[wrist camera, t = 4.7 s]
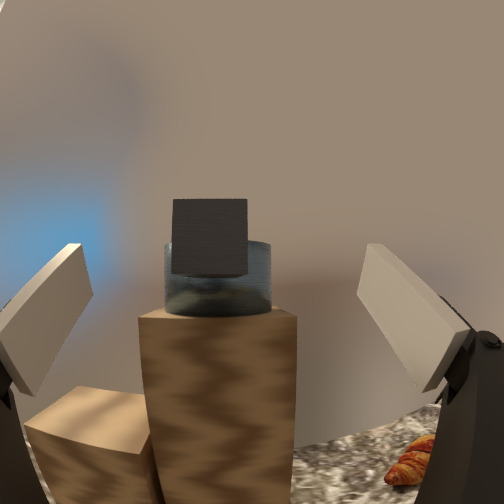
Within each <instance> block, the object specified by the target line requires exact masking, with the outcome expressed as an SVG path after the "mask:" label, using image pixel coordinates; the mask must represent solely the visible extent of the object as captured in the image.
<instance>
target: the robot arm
mask: <svg viewBox="0 0 504 504" xmlns="http://www.w3.org/2000/svg"><path fill="white" fill-rule="evenodd" d="M4 3H5V0H0V12H1V9H2V7H3V5H4ZM92 296H93V292H92V288H91V284H90V280H89V276H88V272H87V267H86V263H85V258H84V253H83V249H82V244H68V245H67V246H66V247H65V248H64V249H62V250H61V251H60V252H59V253H58V254H57V255H56V256H55V257H54V258H53V259H52V260H50V261H49V262H48V263H47V264H46V265H45V266H44V267H43V268H42V269H41V270H40V271H39V272H38V273H37V274H36V275H35V276H34V277H33V278H32V279H31V280H30V281H29V282H28V283H27V284H26V285H25V286H24V287H23V288H22V289H21V290H20V291H19V292H18V294H16V296H15V297H14V298H13V299H11V300H10V301H9V302H8V303H7V304H6V305H5V306H4V308H3V310H1V311H0V504H49V502H48V500H47V497H46V495H45V493H44V491H43V489H42V486H41V484H40V481H39V479H38V477H37V474H36V472H35V469H34V466H33V464H32V461H31V458H30V455H29V452H28V449H27V446H26V443H25V439H24V436H23V433H22V429H21V426H20V421H19V417H18V414H17V409H16V404H15V400H14V395H13V392H12V390H11V389H10V385H11V383H12V381H13V382H14V384H15V385H16V387H17V388H18V390H19V391H20V393H23V394H26V395H29V396H32V397H35V396H36V394H37V392H38V390H39V388H40V386H41V384H42V382H43V380H44V378H45V376H46V374H47V372H48V371H49V368H50V367H51V365H52V363H53V361H54V359H55V357H56V356H57V354H58V352H59V350H60V349H61V347H62V345H63V343H64V342H65V340H66V338H67V337H68V335H69V333H70V331H71V330H72V328H73V327H74V325H75V323H76V322H77V320H78V318H79V317H80V315H81V314H82V312H83V311H84V309H85V307H86V306H87V304H88V303H89V301H90V299H91V298H92ZM357 296H358V297H359V298H360V300H361V301H362V303H363V304H364V306H365V307H366V309H367V310H368V311H369V313H370V314H371V316H372V317H373V319H374V320H375V322H376V323H377V325H378V326H379V328H380V329H381V330H382V332H383V334H384V335H385V336H386V338H387V340H388V341H389V343H390V344H391V346H392V347H393V349H394V350H395V352H396V354H397V355H398V356H399V358H400V360H401V361H402V363H403V365H404V366H405V368H406V369H407V371H408V373H409V374H410V376H411V377H412V379H413V381H414V383H415V384H416V386H417V387H418V389H419V391H420V392H421V393H424V392H427V391H430V390H433V389H436V388H437V386H438V385H439V383H440V382H441V380H442V379H443V377H445V379H446V380H447V381H448V383H447V385H446V386H445V387H444V389H443V391H442V392H441V393H440V395H439V396H438V398H437V399H436V401H435V404H437V403H438V402H439V401H440V399H442V403H441V410H440V415H439V421H438V425H437V430H436V434H435V439H434V443H433V447H432V451H431V454H430V458H429V461H428V465H427V468H426V471H425V474H424V478H423V481H422V483H421V486H420V489H419V492H418V495H417V497H416V500H415V502H414V504H504V343H502V341H501V340H500V339H499V338H498V337H497V336H496V335H495V334H493V333H491V332H489V331H479V332H476V331H475V330H474V329H473V328H472V327H471V326H470V325H469V323H468V322H467V321H466V320H465V319H464V318H463V317H462V316H461V315H460V314H459V313H457V311H456V310H455V309H454V308H453V307H451V305H450V304H449V303H448V302H447V301H446V300H445V299H444V298H443V297H441V296H439V295H438V294H436V293H435V292H434V291H433V290H432V289H431V288H430V287H429V286H428V285H427V284H426V283H425V282H424V281H423V280H421V279H420V278H419V277H418V276H417V275H416V274H415V273H414V272H413V271H412V270H411V269H409V268H408V267H407V266H406V265H405V264H404V263H403V262H402V261H400V259H398V258H397V257H396V256H395V255H394V254H393V253H392V252H390V251H389V250H388V249H387V248H386V247H385V246H384V245H382V244H368V246H367V251H366V256H365V260H364V265H363V270H362V274H361V278H360V283H359V287H358V291H357Z"/></svg>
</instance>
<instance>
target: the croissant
mask: <svg viewBox="0 0 504 504" xmlns="http://www.w3.org/2000/svg"><path fill="white" fill-rule="evenodd" d="M434 439H435V435H433V434H431V435H426V436H421V437H420V438H418V439H417V440H416V441H414V442H413V443H411V444H410V445H409V447H408V448H407V449H406V451H405V453H404V454H403V455H402V456H401V457H400V459H399V461H398V463H397V464H396V465H394V466H393V467H392V468H391V469H390V470H389V472H388V473H387V475H386V476H385V477H384V481H385V483H387V484H390V485H402V484H403V485H416V484H419V483H421V482H422V481H423V478H424V474H425V471H426V468H427V465H428V461H429V458H430V454H431V451H432V447H433V443H434Z"/></svg>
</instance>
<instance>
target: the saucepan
mask: <svg viewBox="0 0 504 504" xmlns="http://www.w3.org/2000/svg"><path fill="white" fill-rule="evenodd" d="M247 228H248V222H247V199H174V200H173V216H172V243H168V244H166V245H165V263H164V265H165V266H164V269H165V270H164V278H165V280H164V283H165V284H164V289H165V312H166V313H169V314H174V315H181V316H192V317H239V316H252V315H260V314H265V313H269V312H271V311H272V287H271V285H272V283H271V245H270V244H267V243H263V242H257V241H249V240H248V229H247Z"/></svg>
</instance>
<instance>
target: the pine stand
mask: <svg viewBox="0 0 504 504" xmlns="http://www.w3.org/2000/svg"><path fill="white" fill-rule="evenodd" d="M138 325H139V343H140V355H141V368H142V378H143V387H144V395H142V394H132V393H123V392H115V391H107V390H101V389H95V388H89V387H84V386H78V387H76V388H75V389H73V390H72V391H71V392H69V393H68V394H66V395H65V396H63V397H62V398H60V399H59V400H58V401H56V402H55V403H53V404H52V405H51V406H49V407H48V408H46V409H45V410H43V411H42V412H40V413H39V414H37V415H36V416H35V417H33V418H32V419H30V420H29V421H27V422H26V423H24V427H25V431H26V434H27V437H28V439H29V442H30V445H31V448H32V451H33V453H34V456H35V458H36V461H37V463H38V466H39V468H40V470H41V473H42V475H43V477H44V479H45V481H46V484H47V486H48V488H49V490H50V492H51V494H52V496H53V498H54V500H55V501H56V503H57V504H289V502H290V491H291V478H292V464H293V448H294V429H295V405H296V370H297V368H296V367H297V316H295V315H292V314H290V313H288V312H286V311H284V310H281V309H279V308H277V307H275V306H273V305H272V311H271V312H269V313H265V314H260V315H252V316H239V317H192V316H181V315H174V314H169V313H166V312H165V307H163V308H160V309H157V310H155V311H152V312H150V313H147V314H145V315H142V316H140V317H138Z"/></svg>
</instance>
